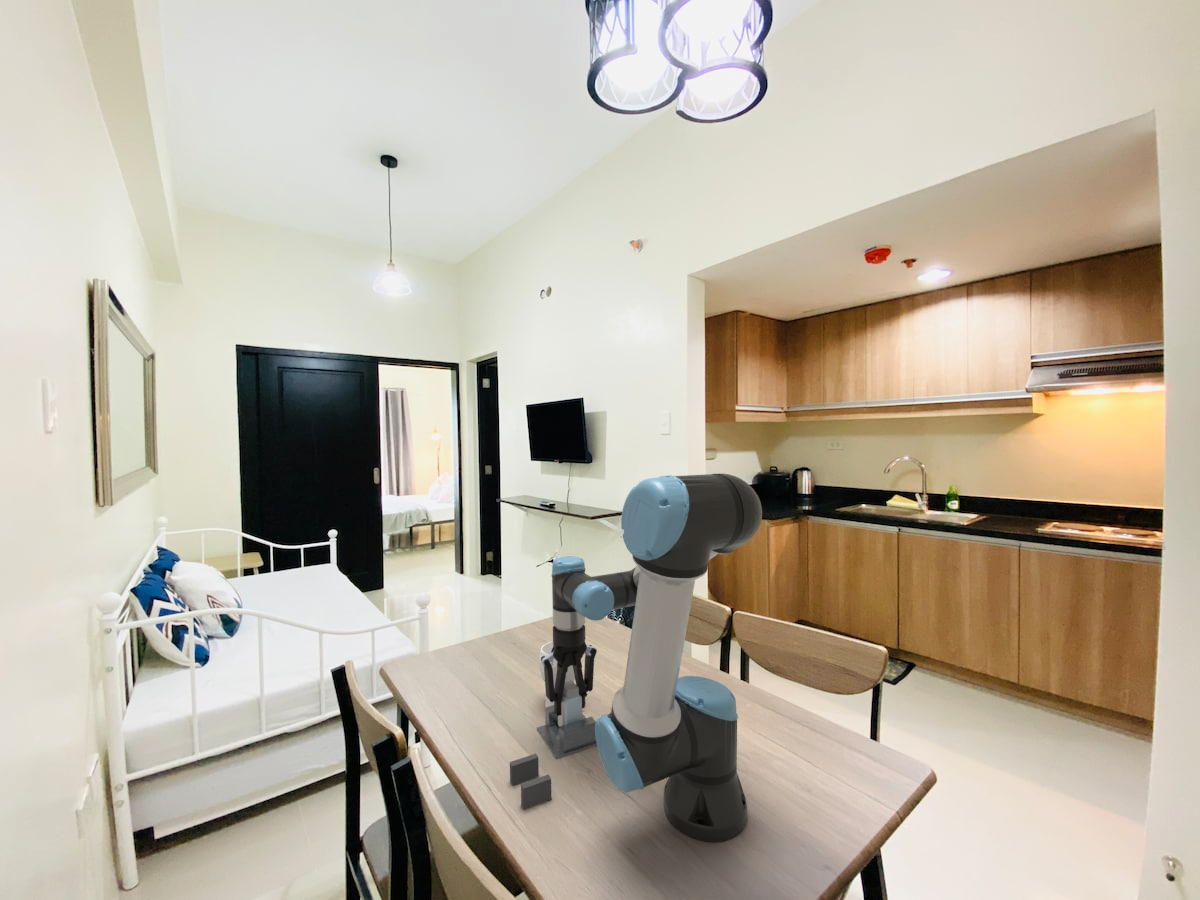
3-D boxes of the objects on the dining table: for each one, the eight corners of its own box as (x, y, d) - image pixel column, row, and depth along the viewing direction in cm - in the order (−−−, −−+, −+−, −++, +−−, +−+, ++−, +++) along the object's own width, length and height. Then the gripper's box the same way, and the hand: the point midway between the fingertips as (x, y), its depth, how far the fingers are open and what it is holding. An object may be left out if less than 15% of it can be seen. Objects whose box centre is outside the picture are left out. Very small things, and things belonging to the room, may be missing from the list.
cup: (574, 719, 118) (574, 658, 118) (533, 714, 120) (533, 655, 120) (584, 696, 129) (584, 640, 128) (546, 692, 131) (546, 638, 130)
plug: (580, 730, 110) (581, 688, 110) (566, 735, 109) (567, 692, 108) (571, 718, 115) (571, 678, 114) (558, 723, 113) (558, 681, 113)
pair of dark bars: (551, 799, 92) (551, 778, 92) (523, 809, 89) (523, 788, 89) (536, 772, 99) (536, 753, 99) (510, 781, 97) (509, 762, 97)
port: (605, 742, 109) (604, 720, 109) (556, 759, 103) (555, 736, 103) (582, 715, 120) (582, 695, 119) (536, 729, 114) (536, 708, 114)
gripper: (593, 613, 118) (594, 707, 119) (529, 626, 110) (530, 726, 111) (608, 623, 111) (608, 723, 112) (541, 638, 104) (542, 744, 104)
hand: (570, 724), depth 111 cm, fingers closed on plug, 3 cm apart
